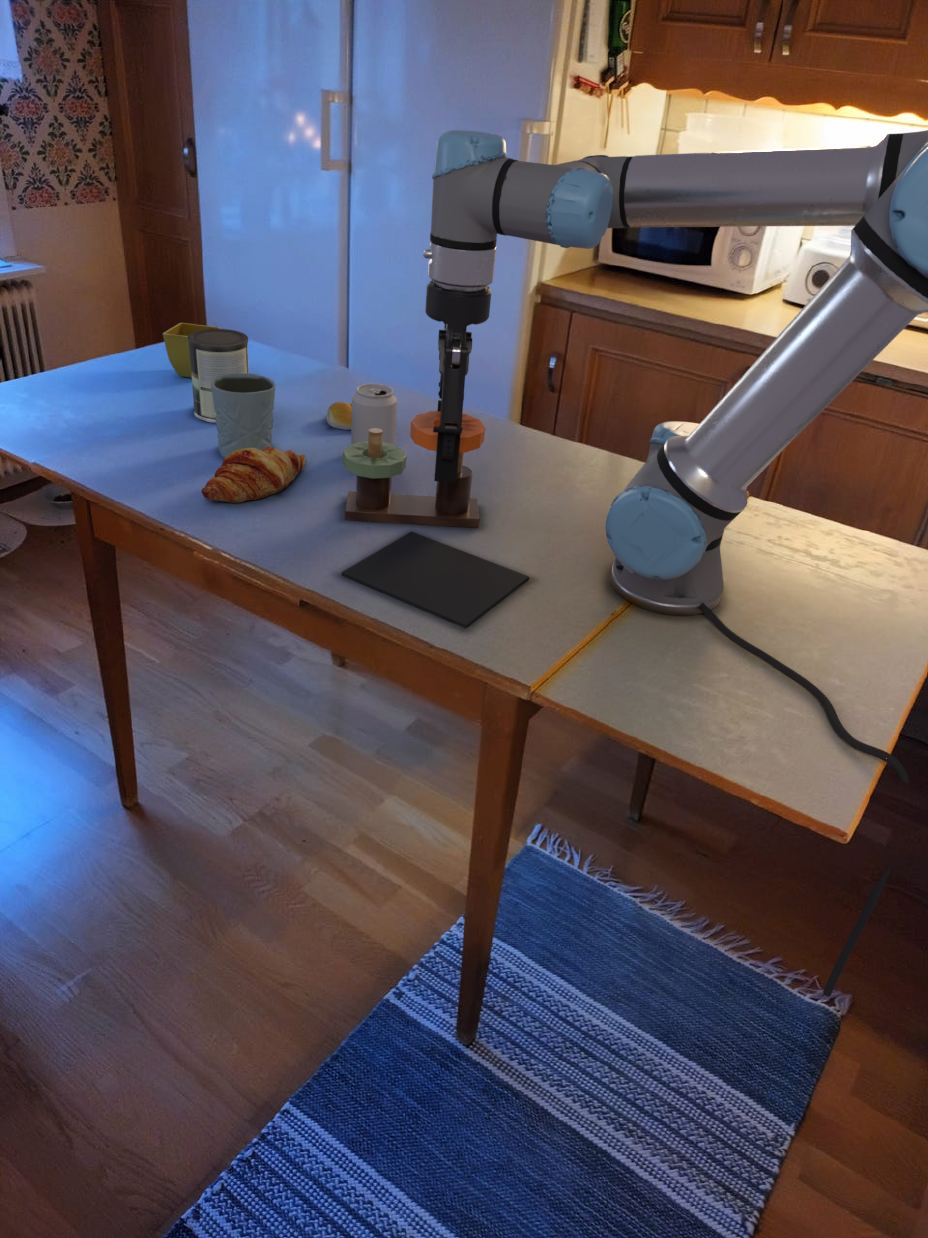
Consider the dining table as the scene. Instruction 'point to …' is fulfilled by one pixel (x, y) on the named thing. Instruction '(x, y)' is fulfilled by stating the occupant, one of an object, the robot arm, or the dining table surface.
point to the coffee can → (214, 364)
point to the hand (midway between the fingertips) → (445, 464)
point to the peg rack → (412, 498)
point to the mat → (436, 578)
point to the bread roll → (340, 415)
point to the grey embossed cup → (243, 411)
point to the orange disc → (428, 439)
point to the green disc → (374, 461)
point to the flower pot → (181, 346)
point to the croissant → (253, 474)
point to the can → (373, 412)
